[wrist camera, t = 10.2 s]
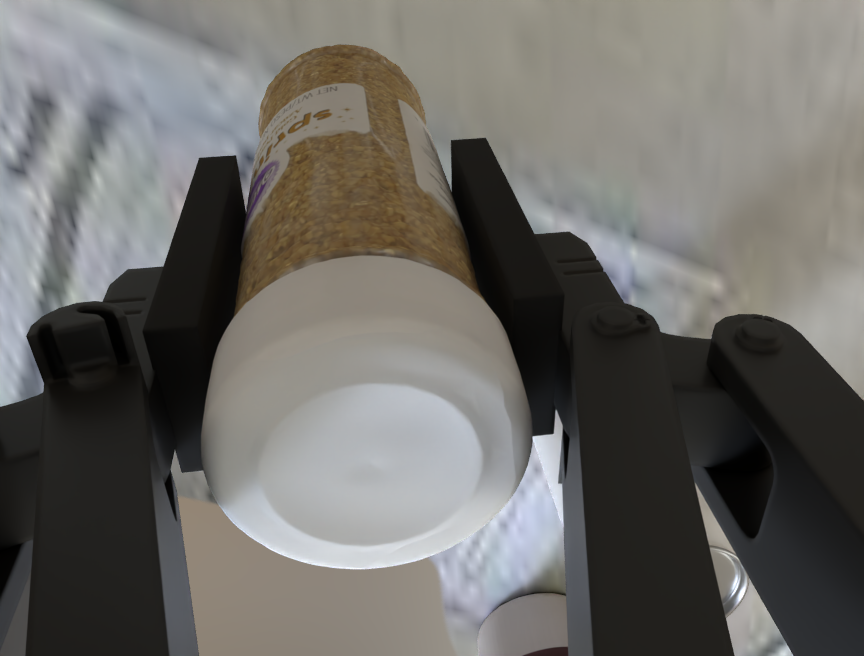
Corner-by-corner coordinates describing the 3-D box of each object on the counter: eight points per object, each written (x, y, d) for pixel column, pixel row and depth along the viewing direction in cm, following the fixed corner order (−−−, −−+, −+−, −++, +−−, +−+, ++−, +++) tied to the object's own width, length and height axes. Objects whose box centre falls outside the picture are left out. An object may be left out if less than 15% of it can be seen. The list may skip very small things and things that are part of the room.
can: (584, 326, 37) (682, 515, 27) (675, 384, 40) (794, 575, 30) (498, 417, 40) (559, 621, 30) (589, 466, 42) (673, 667, 33)
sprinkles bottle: (267, 24, 20) (207, 305, 9) (442, 59, 21) (586, 349, 10) (251, 191, 22) (185, 577, 11) (408, 214, 23) (492, 590, 12)
